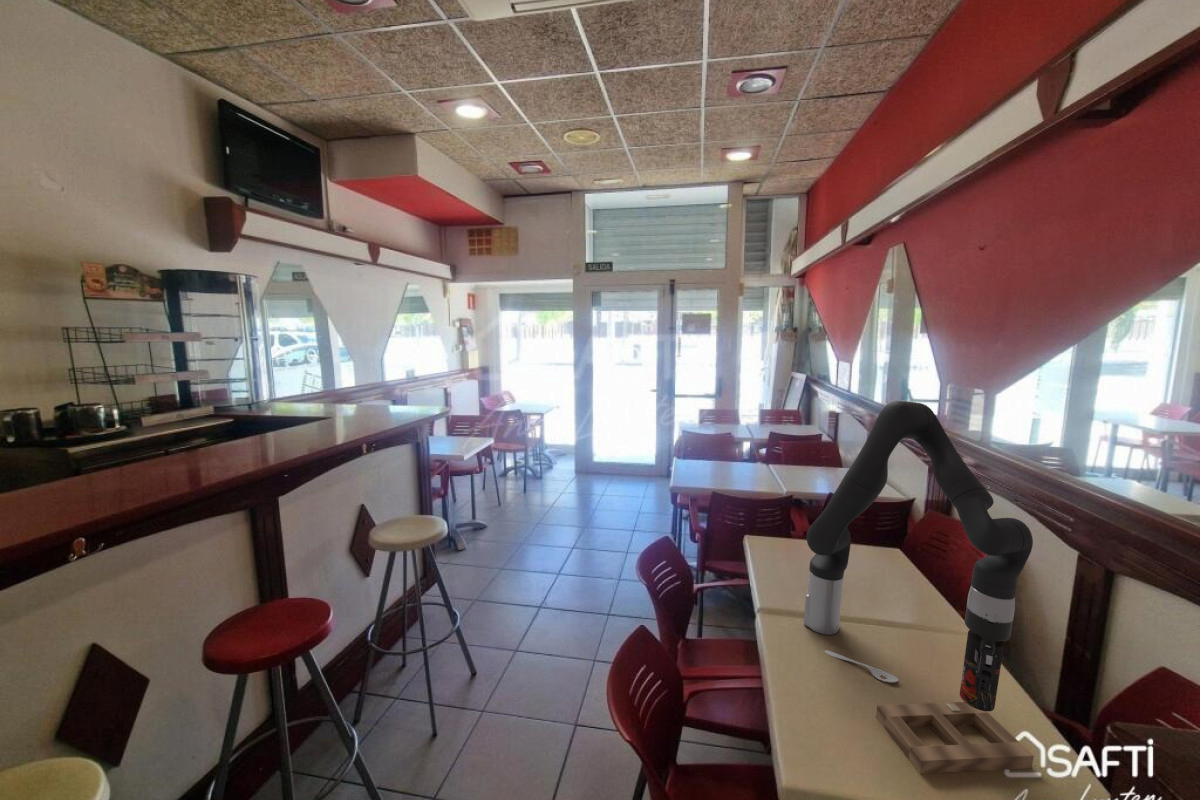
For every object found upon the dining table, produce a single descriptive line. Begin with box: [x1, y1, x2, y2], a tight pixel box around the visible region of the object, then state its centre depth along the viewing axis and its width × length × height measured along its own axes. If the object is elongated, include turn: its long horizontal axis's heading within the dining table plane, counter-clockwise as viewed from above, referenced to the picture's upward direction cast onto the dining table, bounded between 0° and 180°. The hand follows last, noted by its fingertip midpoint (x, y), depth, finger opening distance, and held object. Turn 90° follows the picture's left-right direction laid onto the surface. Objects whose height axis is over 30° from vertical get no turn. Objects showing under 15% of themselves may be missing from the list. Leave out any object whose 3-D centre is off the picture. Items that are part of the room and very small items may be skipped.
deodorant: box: [959, 629, 1005, 712], centre depth 100 cm, size 6×6×15 cm
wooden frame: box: [875, 701, 1035, 775], centre depth 102 cm, size 24×14×3 cm, turn 93°
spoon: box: [824, 649, 900, 684], centre depth 126 cm, size 4×21×2 cm, turn 46°
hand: (979, 681), depth 101 cm, fingers closed on deodorant, 6 cm apart
